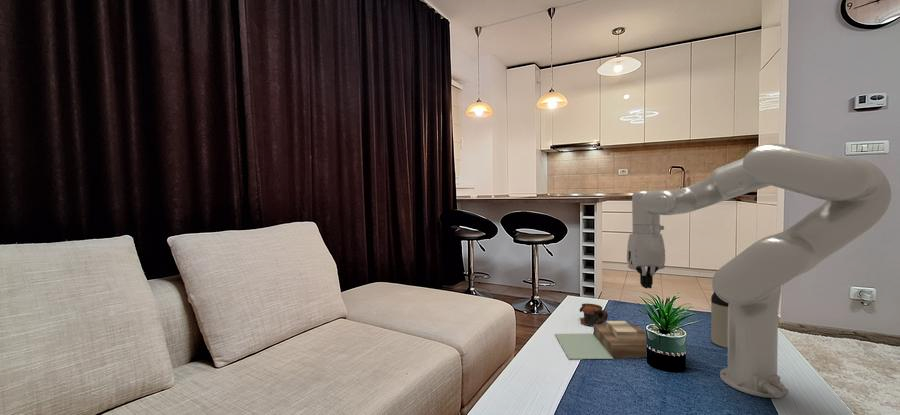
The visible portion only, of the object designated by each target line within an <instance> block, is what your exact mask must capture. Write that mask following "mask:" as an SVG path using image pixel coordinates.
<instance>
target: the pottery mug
mask: <svg viewBox="0 0 900 415" xmlns="http://www.w3.org/2000/svg"><path fill="white" fill-rule="evenodd" d="M578 311H579V312H580V313H583V317H581V318H580V325H584V326H585V325H587V326H591V327H594V324H604V322H605V323H606V321H608V317H609V315H608V314H609V313H608V312H607V311H606V310H604V309H603V306H601V305H599V304H595V303H581V307H580V308H579V309H578Z"/></svg>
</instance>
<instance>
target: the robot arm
mask: <svg viewBox="0 0 900 415" xmlns="http://www.w3.org/2000/svg"><path fill="white" fill-rule="evenodd" d="M768 187H776V188H780V189H783V190H786V191H790V192H793V193H796V194H801V195H805V196H807V197H811V198H815V199H818V200H824V202H823V203H822V204H821V205H820V206H819V207H817V208H816V209H813V210H811V212H809V213H807V214H806V215H805V216H804V217H803V218H802V219H801V220H798V221H797V222H796V223H794V224H793V225H792V226H790V227H789V228H787V229H785V230H783V231H781V232H778V233H776V234H772V235H768V236H766V237H762V238H760V239H759V240H756V241H755V242H754V243H752V244H751V245H749V246H748V247H747V248H745V249H744V250H743V251H741V252H740V253H738V255H735V257H733V258H732V259H730V260H729V261H728V262H726V263H725V264H723V265H722V266H721V267H720V268H719V269H718V270H716V272H715V273H714V275H713V276H712V282H711V284H712V287H713V288H712V290H713V293H714V292H715V293H716V295H717V296H718V297H719V298H720V299H722V300H723V301H725V302H727V303H729V305H728V348H727V367H725V368H723V369H721V370H720V372H719V376H720V379H721V381H722V382H723V383H725V384H726V385H727V386H729V387H732V388H733V389H735V390H738V391H740V392H743V393H744V394H747V395H752V396H756V397H760V398H769V399H771V398H772V399H773V398H774V399H780V398H782V397H784V396H785V395H787V394H788V393H789V389H788V388H786V386H785V383H783V382H782V381H781V376H780V375H778V345H779V344H778V343H779V342H778V341H779V340H778V331H779V308H780V307H779V306H780V301H781V294H782V286H784V285H785V284H787V283H789V282H791V281H792V280H794V279H795V278H797V277H799V276H801V275H803V274H806V273H807V272H809V271H811V270H813V269H814V268H815V267H816V266H817V265H818V264H820V263H821V262H823V261H824V260H826V259H827V258H829V257H830V256H832V255H833V254H835V253H837V252H838V251H840V250H841V249H843V248H844V247H846V246H848V245H849V244H850V243H852V242H853V241H854V240H856V239H857V238H859V237H860V236H862V235H864V234H866V232H868V231H869V230H871V229H872V228H873V227H874V226H876V224H877V223H879V222H880V221H881V219H882V218H883V217H884V215H885V214H887V213H886V212H887V211H888V209H889V206H890V204H891V200H892V188H891V184H890V181H889V179H888V178H887V175H886V174H885V173H884V171H883V170H882V169H881V168H880V167H878V165H876V164H874V163H872V162H870V161H868V160H864V159H859V158H844V157H839V156H832V155H827V154H822V153H817V152H811V151H806V150H802V149H798V148H797V147H795V146H792V145H789V144H783V143H765V144H761V145H758V146H756V147H754V148H751V150H749V151H748V152H747V153H746V155H744V157H742V158H740V159H737V160H736V161H732V162H730V163H727V164H724V165H722V166H719V167H717V168H715V169H714V170H713V171H712V172H711V175H709V177H707V178H705V179H704V180H701V181H698V182H695V183H694V184H692V185H688V186H686V187H683V188H674V189H673V188H672V189H661V190H636V191H634V192H633V193H632V194H631V195H632V196H631V202H632V204H631V205H632V207H631V208H632V211H631V212H632V221H631V222H632V233H629V236H628V239H627V247H626V248H627V249H626V261H627V263H628V265H627V268H628V269H630V270H633V271H636V272H637V273H638V274H639V281H640V282H639V283H640V285H641V287H643V288H644V289H652V287H653V285H654V284H653V282H654V280H653V279H654V278H653V277H654V276H655V273H656V272H658V270H659V271H660V270H664V269H665V268H666V266H665V264H666V249H665V248H666V247H665V242H664V238H663V234H662V233H661V231H664V230H665V226H664V225H661V216H672V215H680V214H681V215H682V214H687V213H691V212H695V211H697V210H700V209H704V208H708V207H710V206H713V205H715V204H718V203H721V202H724V201H728V200H731V199H733V198H737V197H739V196H743V195H747V194H748V193H751V192H754V191H758V190H762V189H765V188H768Z"/></svg>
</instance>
